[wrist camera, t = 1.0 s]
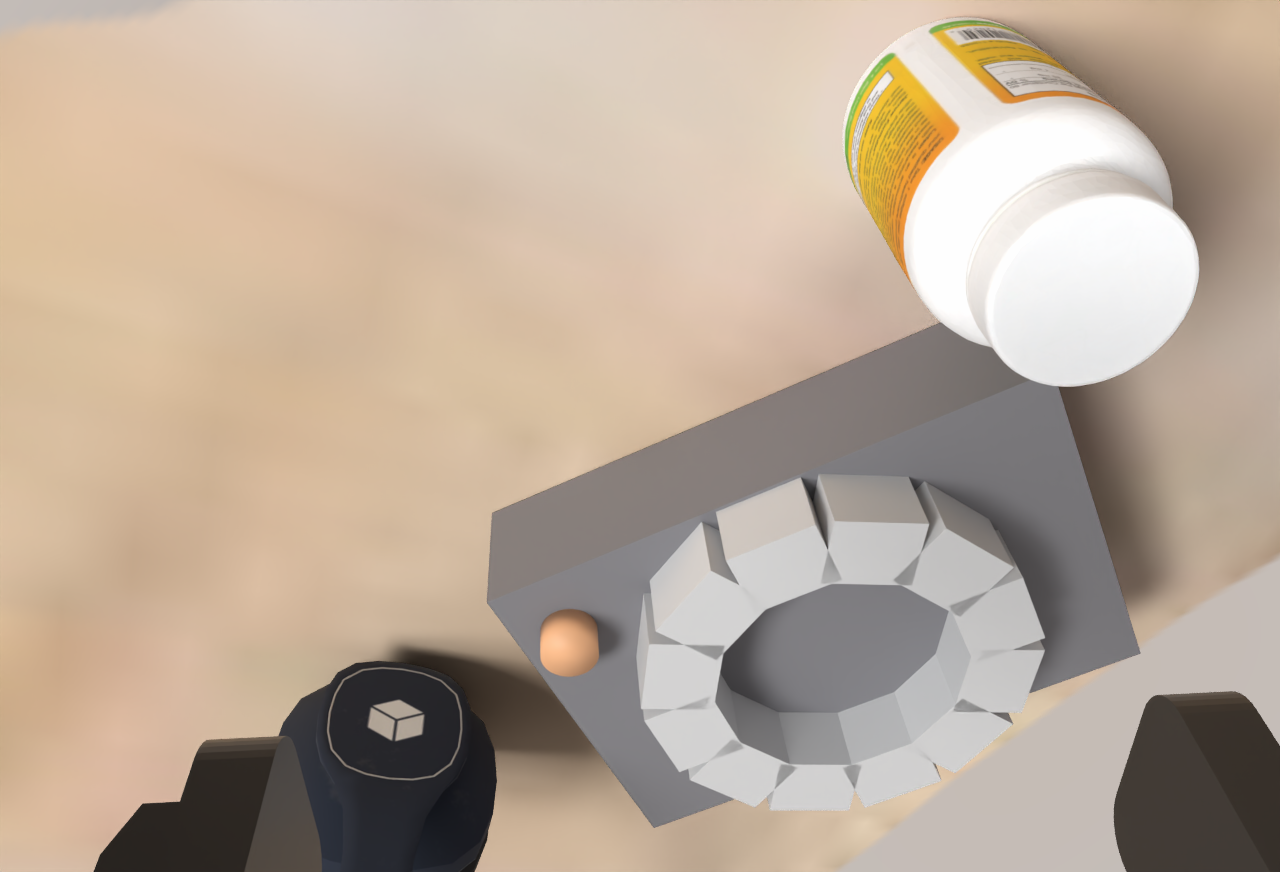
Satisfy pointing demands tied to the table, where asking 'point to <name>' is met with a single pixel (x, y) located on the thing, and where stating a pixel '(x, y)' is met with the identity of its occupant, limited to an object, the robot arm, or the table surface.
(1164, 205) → the supplement bottle
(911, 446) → the camera body
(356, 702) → the headphones
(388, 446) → the table surface
